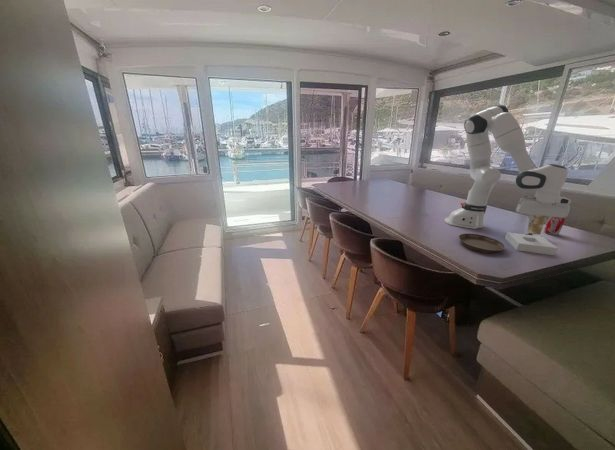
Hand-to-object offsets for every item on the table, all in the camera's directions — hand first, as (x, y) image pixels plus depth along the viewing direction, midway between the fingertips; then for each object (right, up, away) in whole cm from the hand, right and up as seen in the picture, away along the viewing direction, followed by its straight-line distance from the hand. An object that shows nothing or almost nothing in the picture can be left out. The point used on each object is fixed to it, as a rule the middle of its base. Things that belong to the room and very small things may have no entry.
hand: (536, 223), depth 127 cm
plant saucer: (-27, -13, +5) cm, 30 cm away
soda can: (+30, -6, +23) cm, 38 cm away
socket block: (0, -12, +5) cm, 13 cm away
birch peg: (0, -5, +2) cm, 5 cm away
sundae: (+14, -7, +19) cm, 25 cm away
